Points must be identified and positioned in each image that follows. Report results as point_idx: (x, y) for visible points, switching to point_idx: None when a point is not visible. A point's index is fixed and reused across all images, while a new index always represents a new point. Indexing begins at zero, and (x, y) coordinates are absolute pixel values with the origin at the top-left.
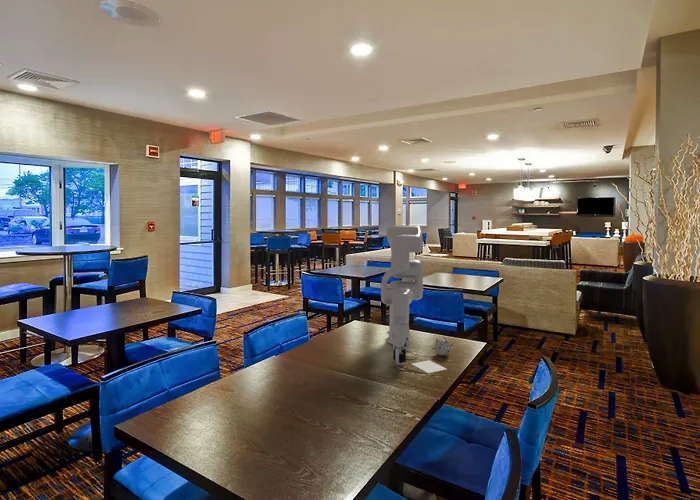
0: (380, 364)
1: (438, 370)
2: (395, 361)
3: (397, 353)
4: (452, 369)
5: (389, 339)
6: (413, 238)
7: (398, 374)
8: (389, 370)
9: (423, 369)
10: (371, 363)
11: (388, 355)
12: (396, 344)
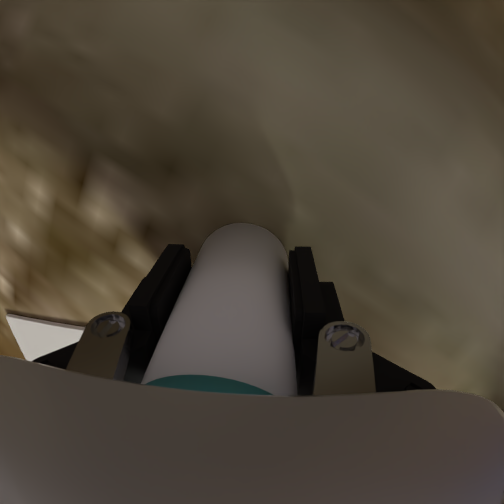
0: (330, 62)
1: None
2: (255, 236)
3: (193, 304)
4: None
5: (498, 459)
6: None
7: (19, 110)
8: (117, 64)
9: (53, 334)
10: (403, 4)
11: (474, 297)
12: (55, 410)
